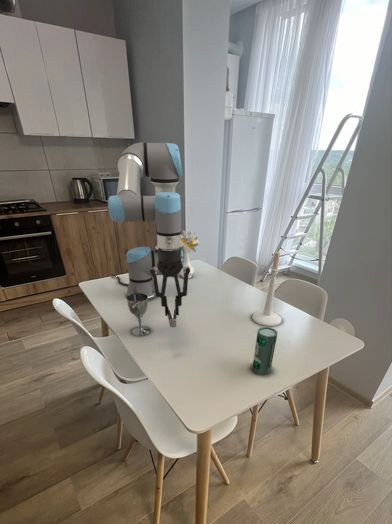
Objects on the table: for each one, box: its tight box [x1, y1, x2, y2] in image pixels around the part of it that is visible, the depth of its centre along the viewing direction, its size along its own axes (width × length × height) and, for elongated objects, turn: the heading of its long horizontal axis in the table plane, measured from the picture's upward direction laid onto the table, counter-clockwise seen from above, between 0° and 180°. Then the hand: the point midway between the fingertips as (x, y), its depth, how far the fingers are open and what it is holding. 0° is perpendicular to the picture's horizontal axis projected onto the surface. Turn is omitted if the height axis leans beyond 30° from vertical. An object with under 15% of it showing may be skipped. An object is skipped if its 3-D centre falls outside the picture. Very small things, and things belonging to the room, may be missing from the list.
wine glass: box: [126, 293, 151, 336], centre depth 119 cm, size 8×8×15 cm
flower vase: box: [178, 229, 200, 279], centre depth 169 cm, size 13×18×25 cm
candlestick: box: [251, 251, 282, 327], centre depth 125 cm, size 13×13×30 cm
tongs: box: [167, 295, 178, 328], centre depth 107 cm, size 19×6×3 cm, turn 7°
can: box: [251, 326, 279, 376], centre depth 98 cm, size 6×6×15 cm
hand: (171, 313), depth 107 cm, fingers closed on tongs, 3 cm apart
